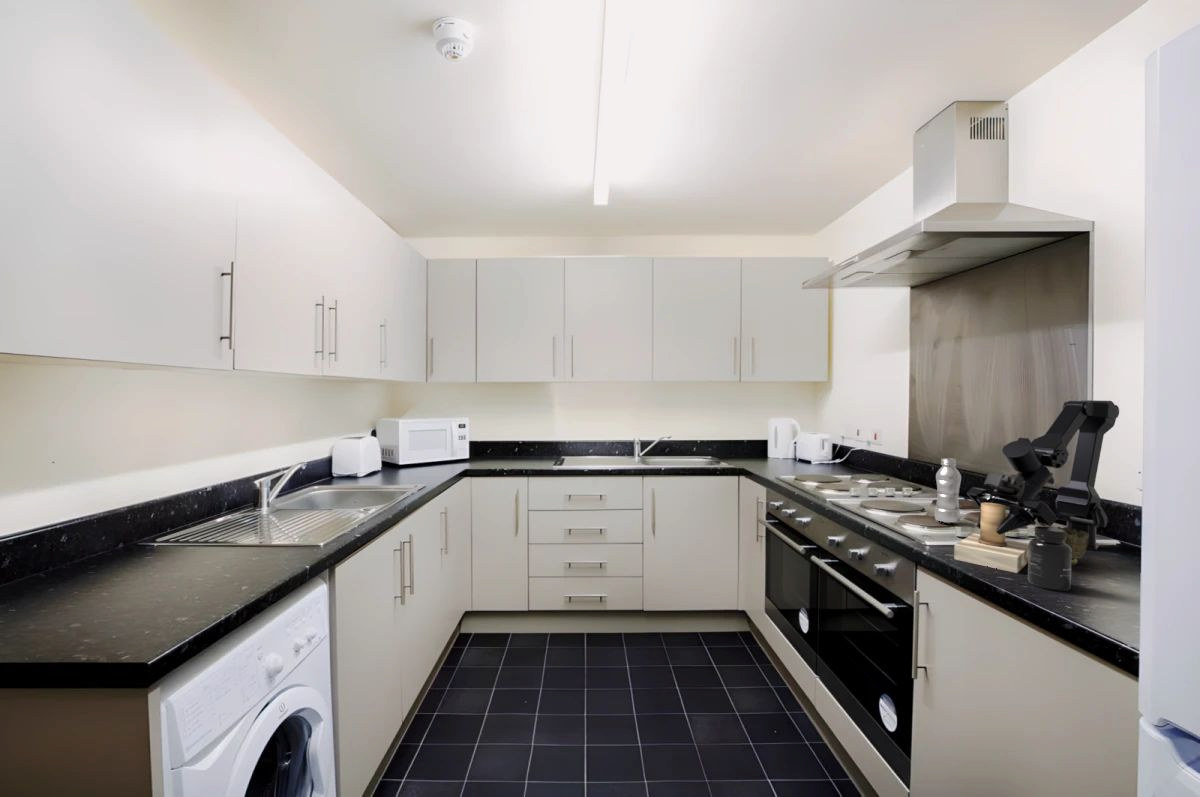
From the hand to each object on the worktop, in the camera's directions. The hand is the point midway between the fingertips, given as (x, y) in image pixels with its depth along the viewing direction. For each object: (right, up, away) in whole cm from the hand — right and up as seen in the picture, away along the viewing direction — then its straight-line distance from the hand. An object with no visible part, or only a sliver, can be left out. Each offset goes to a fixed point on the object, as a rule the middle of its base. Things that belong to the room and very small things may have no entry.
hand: (987, 530), depth 125 cm
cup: (+16, -7, -3) cm, 18 cm away
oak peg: (+1, -7, 0) cm, 7 cm away
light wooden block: (+1, -7, -1) cm, 7 cm away
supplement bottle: (-1, -7, -18) cm, 19 cm away
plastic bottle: (+12, -7, +33) cm, 35 cm away
